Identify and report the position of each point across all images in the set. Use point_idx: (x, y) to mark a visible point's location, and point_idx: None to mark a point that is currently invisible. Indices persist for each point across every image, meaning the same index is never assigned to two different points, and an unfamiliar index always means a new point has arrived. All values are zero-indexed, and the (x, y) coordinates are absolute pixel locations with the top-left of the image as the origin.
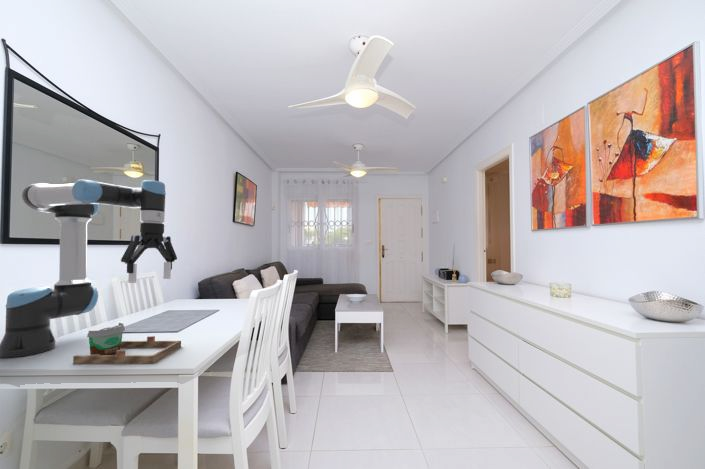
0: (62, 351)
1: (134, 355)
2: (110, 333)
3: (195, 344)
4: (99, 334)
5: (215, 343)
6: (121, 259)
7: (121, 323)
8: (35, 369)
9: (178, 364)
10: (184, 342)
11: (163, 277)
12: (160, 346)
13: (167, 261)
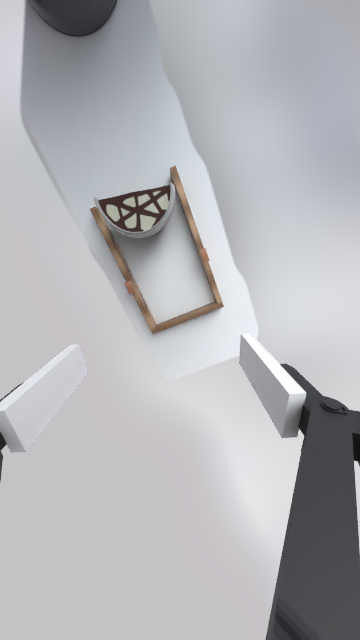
0: (113, 83)
1: (142, 305)
2: (128, 236)
3: (238, 314)
4: (110, 225)
5: None
6: None
7: (170, 194)
8: (51, 179)
9: (165, 360)
10: (242, 287)
11: (242, 336)
12: (206, 275)
13: (304, 412)
